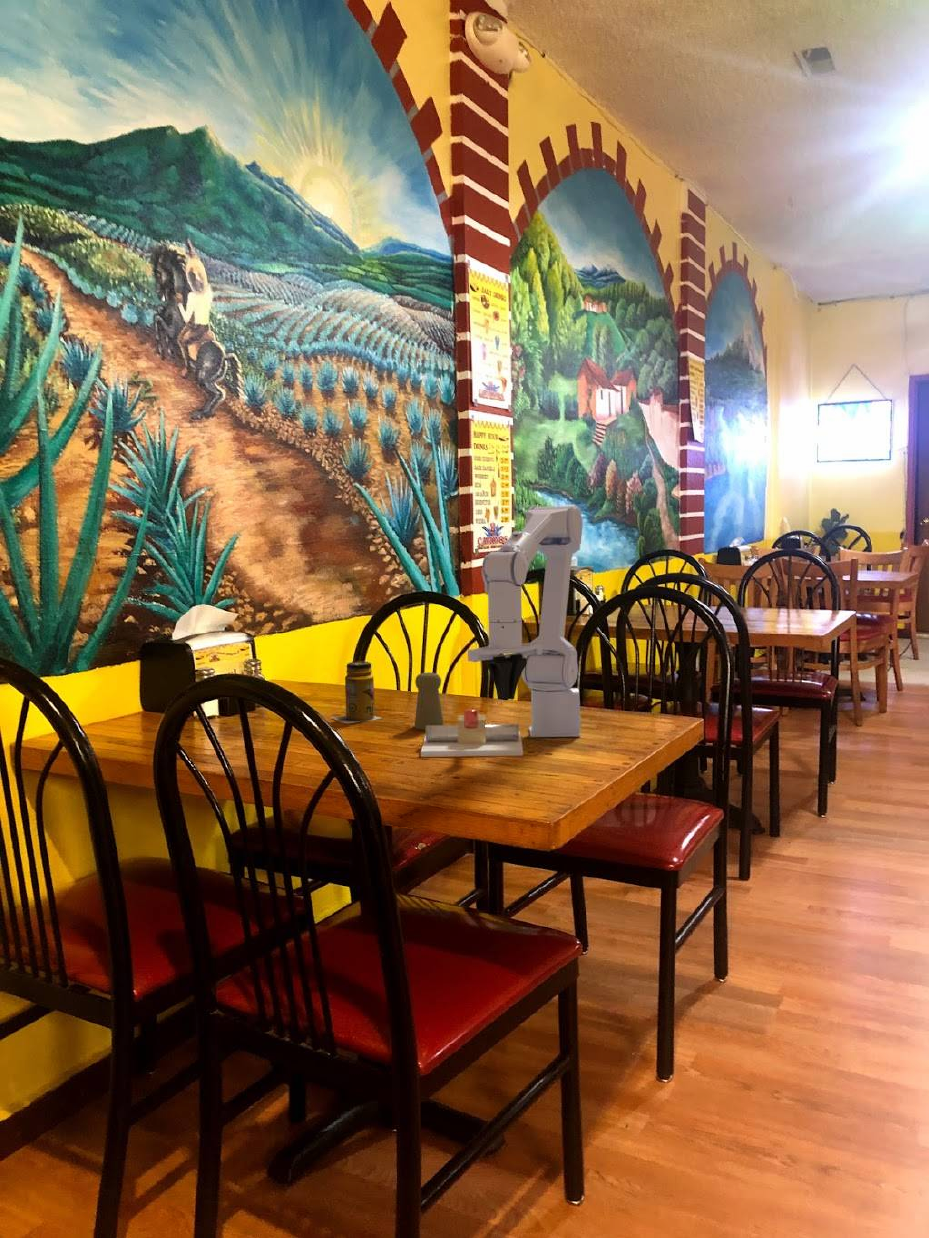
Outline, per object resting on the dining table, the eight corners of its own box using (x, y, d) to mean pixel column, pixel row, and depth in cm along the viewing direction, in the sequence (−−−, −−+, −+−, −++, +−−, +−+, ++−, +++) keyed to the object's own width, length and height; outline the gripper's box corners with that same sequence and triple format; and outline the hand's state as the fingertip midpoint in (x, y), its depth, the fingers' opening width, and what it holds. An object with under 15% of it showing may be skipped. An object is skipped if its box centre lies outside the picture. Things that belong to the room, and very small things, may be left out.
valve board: (519, 736, 186) (519, 731, 185) (522, 755, 171) (522, 749, 171) (426, 738, 186) (426, 732, 186) (421, 756, 171) (420, 751, 171)
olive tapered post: (440, 730, 193) (439, 675, 192) (411, 729, 194) (409, 675, 193) (447, 723, 199) (445, 670, 198) (418, 723, 200) (417, 670, 199)
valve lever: (465, 715, 179) (465, 699, 179) (478, 715, 179) (478, 699, 179) (464, 728, 168) (463, 711, 167) (478, 728, 168) (477, 711, 167)
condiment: (382, 719, 205) (380, 663, 204) (347, 724, 200) (345, 667, 199) (365, 713, 211) (363, 659, 210) (330, 719, 206) (328, 663, 205)
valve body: (518, 737, 181) (517, 714, 180) (518, 743, 176) (518, 719, 175) (427, 738, 181) (426, 715, 180) (425, 744, 176) (424, 721, 175)
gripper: (524, 616, 174) (525, 691, 176) (457, 622, 166) (458, 700, 167) (549, 619, 168) (549, 696, 170) (480, 625, 160) (482, 706, 162)
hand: (506, 699), depth 168 cm, fingers closed
